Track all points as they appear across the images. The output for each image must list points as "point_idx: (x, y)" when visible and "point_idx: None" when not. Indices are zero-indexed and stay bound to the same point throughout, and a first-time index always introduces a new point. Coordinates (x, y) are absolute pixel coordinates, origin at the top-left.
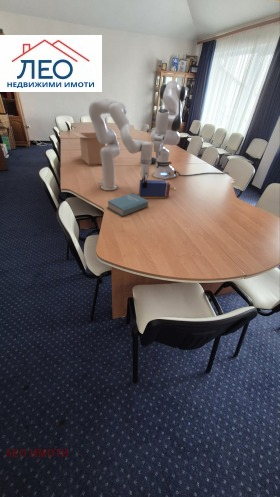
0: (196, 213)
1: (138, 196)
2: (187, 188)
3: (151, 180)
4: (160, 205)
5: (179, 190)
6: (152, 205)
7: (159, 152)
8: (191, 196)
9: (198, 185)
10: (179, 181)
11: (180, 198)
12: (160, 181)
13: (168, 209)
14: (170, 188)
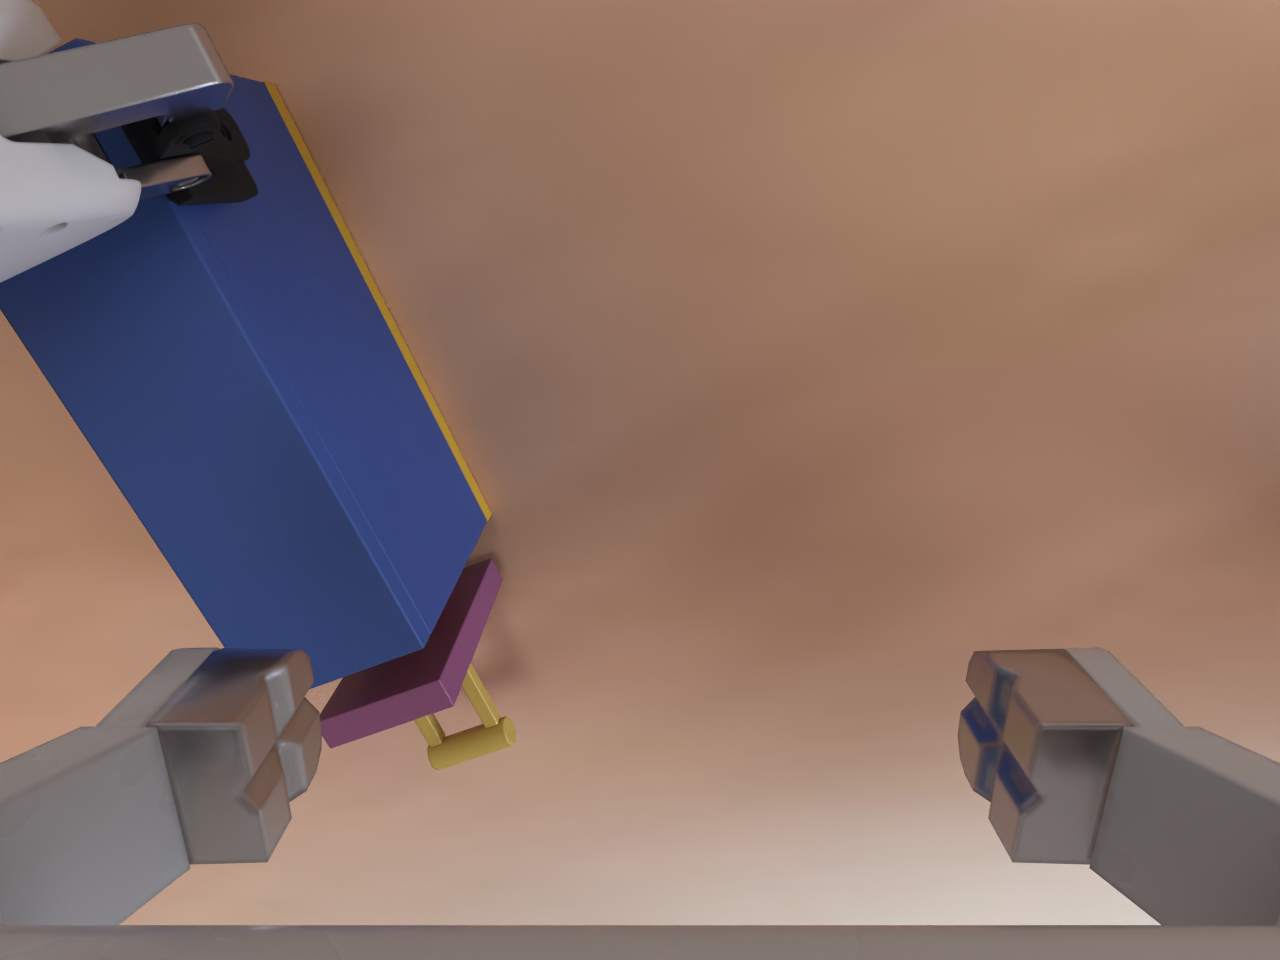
0: None
1: None
2: (937, 812)
3: (234, 359)
4: (80, 543)
5: (802, 716)
6: (2, 433)
7: (1115, 777)
8: (631, 877)
9: None
10: (1260, 672)
11: (485, 758)
12: (298, 569)
13: (30, 661)
14: (463, 682)
